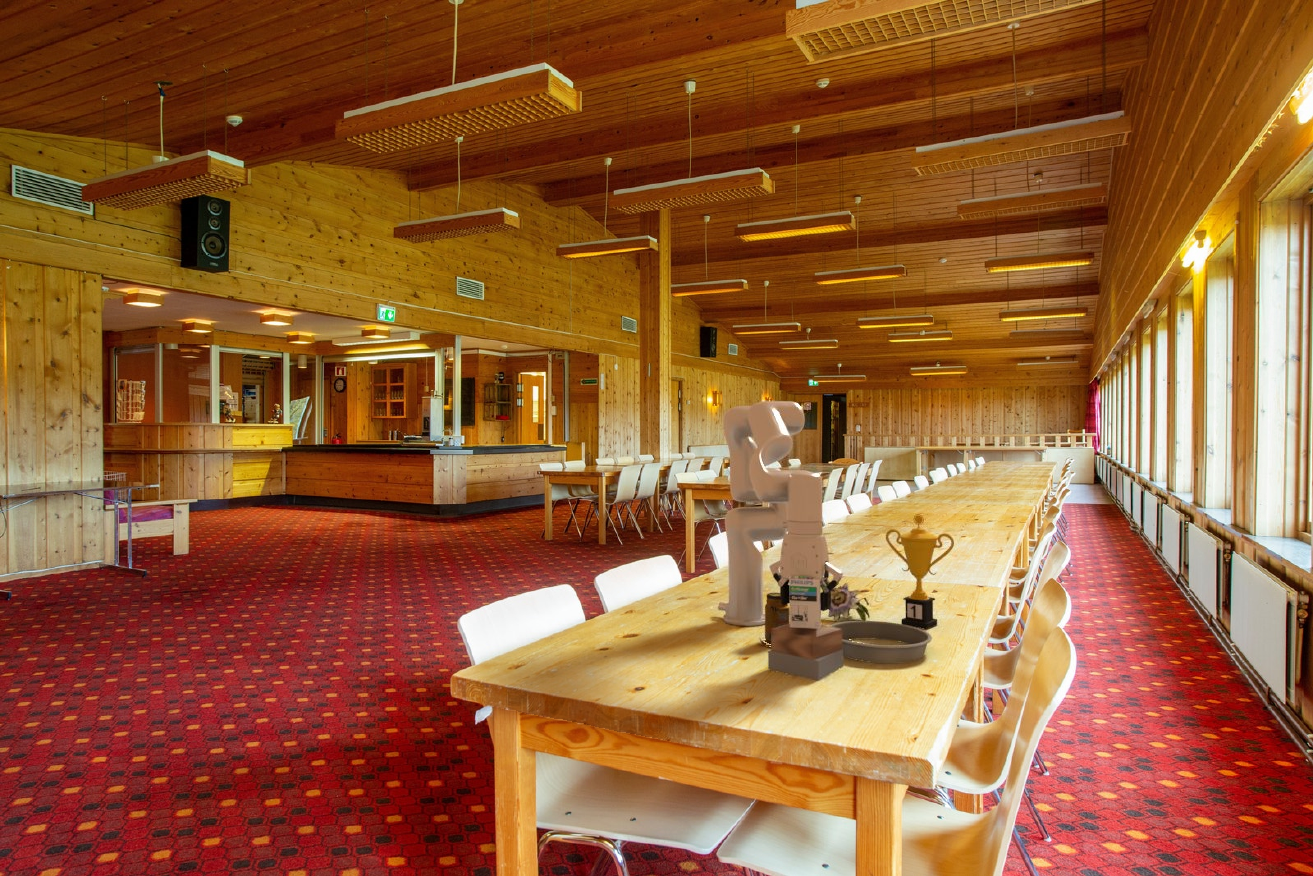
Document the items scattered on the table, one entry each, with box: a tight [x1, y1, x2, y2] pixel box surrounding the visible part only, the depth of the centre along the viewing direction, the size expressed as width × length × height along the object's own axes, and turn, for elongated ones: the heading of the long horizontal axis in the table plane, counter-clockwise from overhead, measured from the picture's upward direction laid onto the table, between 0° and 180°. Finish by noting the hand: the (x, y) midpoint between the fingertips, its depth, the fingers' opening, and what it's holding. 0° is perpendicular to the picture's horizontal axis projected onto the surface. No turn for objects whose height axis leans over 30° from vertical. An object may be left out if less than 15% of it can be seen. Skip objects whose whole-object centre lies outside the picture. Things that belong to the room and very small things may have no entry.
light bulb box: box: [788, 575, 822, 629], centre depth 164 cm, size 11×7×11 cm, turn 168°
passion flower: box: [828, 582, 870, 622], centre depth 210 cm, size 11×11×12 cm
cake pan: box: [829, 620, 933, 664], centre depth 178 cm, size 25×25×4 cm
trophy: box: [885, 514, 955, 630], centre depth 202 cm, size 19×10×30 cm, turn 45°
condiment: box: [759, 592, 790, 648], centre depth 185 cm, size 7×8×12 cm
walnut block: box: [770, 623, 842, 660], centre depth 165 cm, size 11×11×4 cm
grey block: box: [767, 648, 844, 681], centre depth 164 cm, size 12×12×4 cm
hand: (805, 606), depth 164 cm, fingers closed on light bulb box, 9 cm apart
